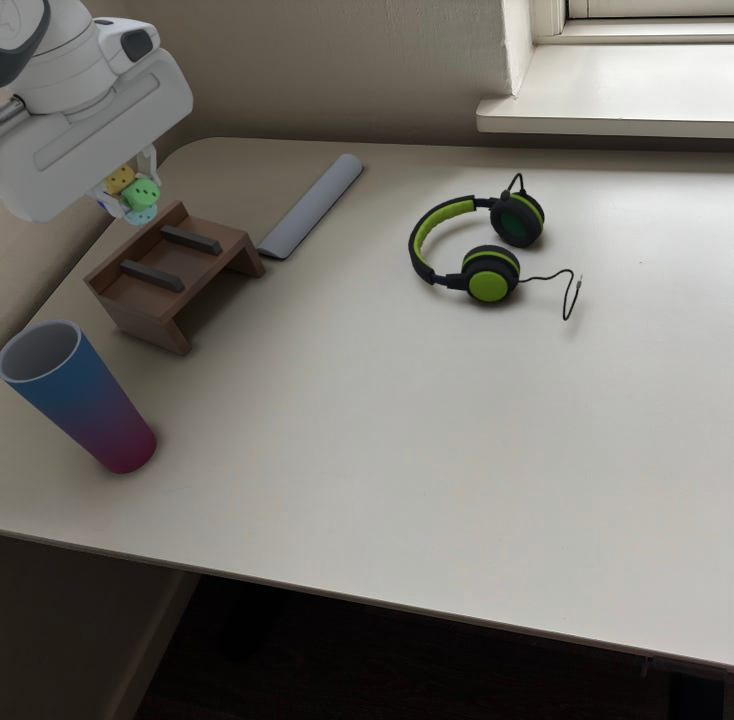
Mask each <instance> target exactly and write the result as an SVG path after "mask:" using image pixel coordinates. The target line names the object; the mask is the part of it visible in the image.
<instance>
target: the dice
mask: <svg viewBox="0 0 734 720" xmlns="http://www.w3.org/2000/svg"><path fill="white" fill-rule="evenodd" d="M135 175H136V173H135V172H134V171H133V168H132V167H130V166H129V164H127V162H126V163H125V164H124V165H122V166H121V167H120V168H118V169H117V170H116V171H115V172H113V173H112V174H111V175H109V176H108V177H107V178H106V179H104V180H103V181H104V183H105V185H106V186H107V190H106V191H103V193H105V194H107V195H111V194H112V193H116V194H118V195H123V196H125V197H126V198H127V200H128V201H129V205H131V206H132V208H133V210H132V211H131V212H129V213H128V214H127V215H126V216H125V217H123V218H122V219H124V220H125V221H126V223H129V224H130V225H132V226H134V227H140V226H145V225H146V224H147V223H148V222H150V221H151V220H152V219H153V218H154V217H155V216H157V214H158V206H157V203H156V202H158V200H159V199H160V198H161V191H160V188H158V187H157V186H156V185H155V184H154V183H153V182H152V181H151V180H150V179H148V178H146V177H140V178H139V179H137V180H136V181H135ZM96 202H97V204H99V206H100V207H101V208H103V209H104V210H105V211H107V212H108V210H107V209H106V207H105V206H104V204H103V203H102V202H100V201H97V200H96Z"/></svg>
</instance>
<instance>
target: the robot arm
mask: <svg viewBox="0 0 734 720" xmlns="http://www.w3.org/2000/svg"><path fill="white" fill-rule="evenodd" d="M161 42H162V41H161V37H160V34H159V31H158V30H157V28H156V27H155V25H153V24H151V23H148V22H144V21H140V20H137V19H130V18H123V17H112V16H111V17H109V16H100V17H94V18H93V17H92V15H91V13H90V11H89V10H88V9H87V7H86V6H85V5H84V4H83V2H82V1H81V0H0V89H1V88H4V89H5V90H6V91H7V93H8V95H9V96H10V97H9V98H8V99H7V100H5V101H3V102H1V103H0V200H1V202H2V204H3V205H4V206H5V208H6V209H7V211H8V212H9V213H10V214H11V215H13V216H15V217H16V218H18V219H20V220H23V221H26V222H30V223H35V224H41V225H46V224H48V223H50V222H52V221H53V220H54V219H56V218H57V217H58V216H59V215H60V214H62V213H63V212H64V211H66V210H67V209H68V208H69V207H71V206H72V205H73V204H75V203H76V202H78V200H80V199H81V198H82V197H84V196H87V197H89V198H90V199H93V200H96V202H97V201H100V202H102V203H103V204H104V206H105V207H106V209H107V210H108V211H107V210H106V211H107V212H108V213H109V214H110V215H111V216H112V217H113V218H115V219H119V220H122V219H124V218H123V217H125V216H126V215H127V214H128V213H129V212H131V211H132V210H133V208H132V206H131V205H129V201H128V200H127V198H126V197H125V196H123V195H118V194H116V193H112V194H111V195H107V194H105V193H103V191H106V190H107V186H106V185H105V183H104V181H103V180H104V179H106V178H107V177H108V176H109V175H111V174H112V173H113V172H115V171H116V170H117V169H118V168H120V167H121V166H122V165H124V164H125V163H126V164H127V163H128V162H129V161H130V160H131V159H133V158H134V157H135V156H136V161H137V173H135V180H134V181H136V180H137V179H139V178H140V177H146V178H148V179H150V180H151V181H152V182H153V183H154V184H155V185H156V186H157V187H158V189H160V188H161V187H163V183H162V181H161V179H160V177H159V175H158V173H157V149H156V148H155V146H154V143H153V142H155V141H156V140H157V139H158V138H160V137H161V136H162V135H164V134H165V133H166V132H167V131H169V130H170V129H171V128H173V127H175V125H176V124H178V123H179V122H181V121H182V120H183V119H184V118H186V117H187V116H188V115H190V114H191V113H192V111H193V107H194V95H193V92H192V90H191V87H190V86H189V84H188V82H187V80H186V77H185V76H184V74H183V72H182V70H181V68H180V67H179V65H178V63H177V61H176V60H175V58H174V57H173V56H172V55H171V53H170V52H169V51H167V50H166V49H164V48H163V47H160V46H161Z"/></svg>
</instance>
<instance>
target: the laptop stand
mask: <svg viewBox="0 0 734 720" xmlns="http://www.w3.org/2000/svg"><path fill="white" fill-rule="evenodd" d="M224 268H228V269H230V270H234V271H237V272H240V273H242V274H247V275H249V276H253V277H256V278H258V279H261V278H262V277H263V276H264V275H265V274H266V273H267V270H266V267H265V266H264V263H263V262H262V259H261V258H260V256H259V253H258V252H257V251H256V247H255V245H254V243H253V241H252V239H251V237H250V234H249V233H248V231H244V230H241V229H238V228H234V227H231V226H229V225H228V226H227V225H224V224H221V223H217V222H214V221H210V220H207V219H204V218H200V217H197V216H194V215H190V214H189V212H188V210H187V209H186V206H185V204H184V203H183V201H182V200H179V199H174V200H173V201H171V203H169V204H167V206H165V208H163V209H162V210H161V211H160V212H159V213H157V214H156V215H155V217H154V218H153V219H152V220H151V221H150V222H148V223H146V224H144V225H143V226H142V227H141V228H140V229H139V230H138V231H136V232H135V233H134V234H133V235H132V236H131V237H130V238H128V239H127V240H126V241H125V242H123V243H122V244H121V245H120V246H119V247H118V248H117V249H116V250H115V251H113V252H112V253H111V254H110V255H109V256H107V257H106V258H105V259H104V260H103V261H102V262H100V263H99V264H98V265H97V266H95V268H93V269H92V270H91V271H90V272H89V273H88V274H86V275H85V276H84V277H83V278H82V279H81V280H82V281H83V283H84V284H85V285H86V287H87V288H88V289H89V291H90V292H91V293H92V294H93V295H94V297H95V298H96V300H97V301H98V302H99V304H100V305H101V306H102V307H103V309H104V310H105V312H106V313H107V314H108V316H110V318H111V320H112V321H113V322H114V323H115V325H116V326H117V327H118V329H119V330H120V331H121V332H123V333H125V334H128V335H130V336H132V337H135V338H138V339H140V340H143V341H145V342H148V343H150V344H153V345H156V346H158V347H159V348H162V349H165V350H167V351H170V352H173V353H175V354H178V355H180V356H183V357H186V356H187V355H188V353H189V352H190V351H192V347H191V345H190V344H189V342H188V341H187V339H186V338H185V336H184V334H183V333H182V332H181V330H180V328H179V326H178V325H177V324H176V323H175V321H174V319H173V318H174V316H175V315H176V314H178V312H180V310H181V309H183V308H184V306H186V305H187V304H188V303H189V302H190V301H191V300H192V299H193V298H194V297H195V296H196V295H197V294H198V293H199V292H200V291H201V290H202V289H203V288H204V287H205V286H206V285H207V284H208V283H209V282H210V281H211V280H212V279H213V278H214V277H215V276H216V275H217V274H218V273H220V271H221V270H223V269H224Z"/></svg>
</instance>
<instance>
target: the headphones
mask: <svg viewBox="0 0 734 720" xmlns="http://www.w3.org/2000/svg"><path fill="white" fill-rule="evenodd" d="M518 178H519V184H520V189H519V191H514V192H512V193H511V190H512V188H513V187H514V185H515V183H516V181H517V180H518ZM478 208H484V209H487V210H488V211H489V221H490V224H491V226H492V228H493V230H494V231H495V233H496V234H497V235H498V237H500V238H501V239H502V240H503V241H505V243H507V244H510V245H511V246H515V247H519V248H528V247H531V246H533V245H534V244H535V243H536V242H537V240H538V239H539V238H540V236H541V235H542V234H543V231H544V224H545V221H546V216H545V212H544V210H543V207H542V205H541V204H540V203H539V202H538V201H537V200H536V199H535V198H534V197H533V196H532V195H530V194H528V193H527V190H526V189H525V187H524V177H523V174H522V172H517V173H516V174H515V175H514V177H513V178H512V180H511V181H510V183H509V185H508V187H507V188H506V189H504V190H503V191H502V192H501V193H500V196H499V197H493V196H489V198H485V197H477V198H476V195H475V194H469V195H463V196H458V197H454V198H451V199H448V200H446V201H444V202H441V203H439V204H437V205H435V206H433V207H432V208H430V209H429V210H428V211H427V212H425V214H424V215H422V217H420V219H419V220H418V221H417V222H416V224H415V226H414V227H413V229H412V231H411V233H410V235H409V238H408V243H407V247H408V248H407V250H408V253H409V254H408V255H409V257H410V262H411V265H412V268H413V270H414V272H415V273H416V275H418V276H419V278H420V279H422V280H423V281H424V282H425V283H426V284H428V285H430V286H432V287H433V286H434V285H435V284H437V285H440V286H442V287H446V289H448V290H454V291H462V292H466V293H467V294H468V295H469V297H471V298H472V299H474V300H475V301H477V302H480V303H484V304H496V303H500V302H503V301H505V300H507V299H508V298H509V297H510V296H511V294H512V292H514V291H515V290H516V288H517V287H518V285H519V284H525V283H529V282H531V281H533V280H539V281H549V280H552V279H555V278H556V277H557V276H559V275H560V274H562V273H563V274H564V273H569V274H570V275H571V276H570V279H569V281H568V285H567V287H566V290H565V293H564V296H563V297H564V298H563V305H562V320H563V321H564V322H567V321H568V320H569V319H570V316H571V315H572V312H573V309H574V307H575V304H576V302H577V300H578V296H579V292H580V289H581V286H582V284H583V281H582V279H583V276H584V275H583V273H581V275H580V277H579V280H577V282H576V285H575V289H576V290H575V294H574V297H573V300H572V302H571V304H570V308H569V310H568V313H567V315H566V309H567V301H568V294H569V290H570V289H571V285H572V283H573V280H574V278H575V273H574V271H573V270H572V269H570V268H564V269H560V270H559V271H557V272H556V273H555V274H553V275H551V276H546V277H544V276H531V277H529V278H527V279H520V277H521V264H520V261H519V259H518V258H517V256H516V255H515V253H513V252H512V251H511V250H509V249H507V248H505V247H503V246H501V245H496V244H482V245H478V246H476V247H473V248H472V249H470V250H469V251H468V252H467V253H466V254H465V255H464V257H463V259H462V263H461V269H460V272H455V273H446V274H445V275H439V274H436V271H435V269H434V268H433V267H432V266H430V265H429V264H428V262H427V261H426V260H425V259H424V257H423V256H422V252H421V250H422V249H421V248H422V247H423V244H424V241H426V239H427V237H428V235H429V234H430V233H431V232H432V230H433V229H434V228H436V227H437V226H438V225H439V224H441V223H444V222H445V221H447V220H450V219H454V218H455V217H457V216H461V215H464V214H468V213H473V212H477V211H478V210H477V209H478Z"/></svg>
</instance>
